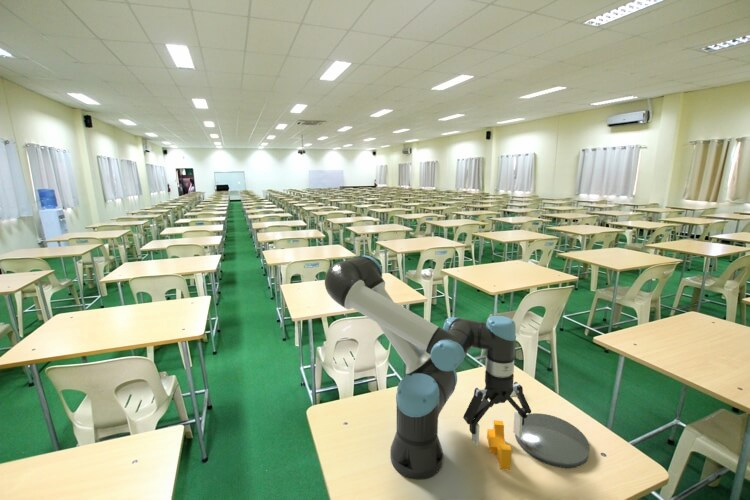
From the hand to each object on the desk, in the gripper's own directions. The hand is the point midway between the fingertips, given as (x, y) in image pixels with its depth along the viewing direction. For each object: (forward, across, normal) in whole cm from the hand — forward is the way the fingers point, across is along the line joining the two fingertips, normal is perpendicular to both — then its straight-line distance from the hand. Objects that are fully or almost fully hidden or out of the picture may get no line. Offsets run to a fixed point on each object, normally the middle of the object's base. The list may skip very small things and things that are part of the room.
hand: (496, 438), depth 99 cm
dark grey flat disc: (+5, +19, 0) cm, 19 cm away
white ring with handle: (+5, +21, +27) cm, 35 cm away
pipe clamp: (+5, +1, 0) cm, 5 cm away
